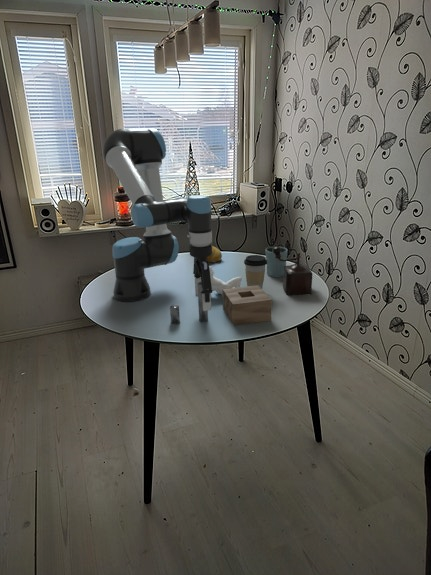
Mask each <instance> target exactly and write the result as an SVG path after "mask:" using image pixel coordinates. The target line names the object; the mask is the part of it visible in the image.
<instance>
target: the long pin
mask: <svg viewBox="0 0 431 575" xmlns="http://www.w3.org/2000/svg"><path fill="white" fill-rule="evenodd" d="M206 290H207V289H206ZM201 291H203V288H202V283H201V282H199V283H198V295H197V301H198V321H199V322H201V323H205V322H208V321H209V314H208V313H209V310H208V311H203V299H202V294H201Z"/></svg>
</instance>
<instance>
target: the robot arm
mask: <svg viewBox="0 0 431 575" xmlns="http://www.w3.org/2000/svg"><path fill="white" fill-rule="evenodd" d="M102 155H103V158H104V160H105V163H106V165H107V166H108V168H110V169H112V170H113V172H114V173H115V175H116V177H117V179H118V181H119V182H120V185H121V186H122V188H123V190H124V192H125V194H126V195H127V197H128V199H129V201H130V203H131V205H132V206H131V208H130V216H131V219H132V221H131V222H132V223H133V225H134V226H135V227H137V228H145V232H143V233H144V234H143V235H142V236H143V239H142V238H140V237H138V236H132V237H131V236H130V237H125V238H122V239H119V240H117V241H116V242H115V243H113V245H112V258H113V265H114V274H115V282H114V286H113V292H112V293H113V297H114V299H115V300H117V301H120V302H128V303H129V302H137V301H140V300H141V301H142V300H144V299H146V298H148V297H149V296H150V295H151V291H152V290H151V286H150V283H149V282H148V279H147V278H146V276H145V275H146V274H145V270H146V269H150V268H154V267H159V266H168V264H172V263H175V261H176V260H177V259H178V256H179V250H180V249H179V243H178V242H179V241H178V239H177V237H176V236H174V235H173V234H172V231H171V230H170V229H168V227H167V226H168V225H167V224H175V223H183V222H184V223H187V227H188V234H187V235H186V236H187V238H189V239H188V242H189V248H188V249H189V256H190V257H192V258H193V270H192V274H193V277H194V293H195V296H197V297H198V283H199V282H201V283H202V288H203V291H201V294H202V299H203V311H208V312H209V311H211V310H212V296H211V295H212V294H213V291H212V286H211V278H210V270H209V267H210V262H208V261H207V260H206V258H207V257H208V256H211V255H212V246H213V244H212V243H213V236H212V235H213V231H212V204H211V198H210V196H208V195H204V194H203V195H202V194H196V195H195V194H194V195H190V196H188V197H176V198H174V199H170V200H164V196H163V189H162V181H161V176H160V175H161V173H160V167H161V166H162V164H163V159H165V157H166V155H167V146H166V142H165V139H164V136H163V135H162V133H161V132H160V131H159V130H158V129H156V128H148V127H146V128H144V127H143V128H119V129H116V130H115V129H114V130H113V131H112V132H110V134H108V135H107V137H106V139H104V143H103V145H102ZM206 289H207V290H206Z"/></svg>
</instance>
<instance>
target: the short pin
mask: <svg viewBox="0 0 431 575" xmlns="http://www.w3.org/2000/svg"><path fill="white" fill-rule="evenodd" d="M169 314H170V323H171V324H172V325H178V324H180V323H181V318H180V314H181V313H180V306H179V305H178V304H173V305H170V306H169Z"/></svg>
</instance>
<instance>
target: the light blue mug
mask: <svg viewBox="0 0 431 575" xmlns="http://www.w3.org/2000/svg"><path fill="white" fill-rule="evenodd" d="M274 247H275V246H270V247H266V248H265V250H264V251H265V258H266V260H267V264H266V275H267V276H269V277H272V278H280V277H283V276H284V266H287V261H280V260H278V258H275V254H274V253H273V252H272V250H273V248H274ZM279 247H280V248H281V253H280V254H281V259H288V252H289V251H288V248H286V247H283V246H279Z"/></svg>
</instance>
